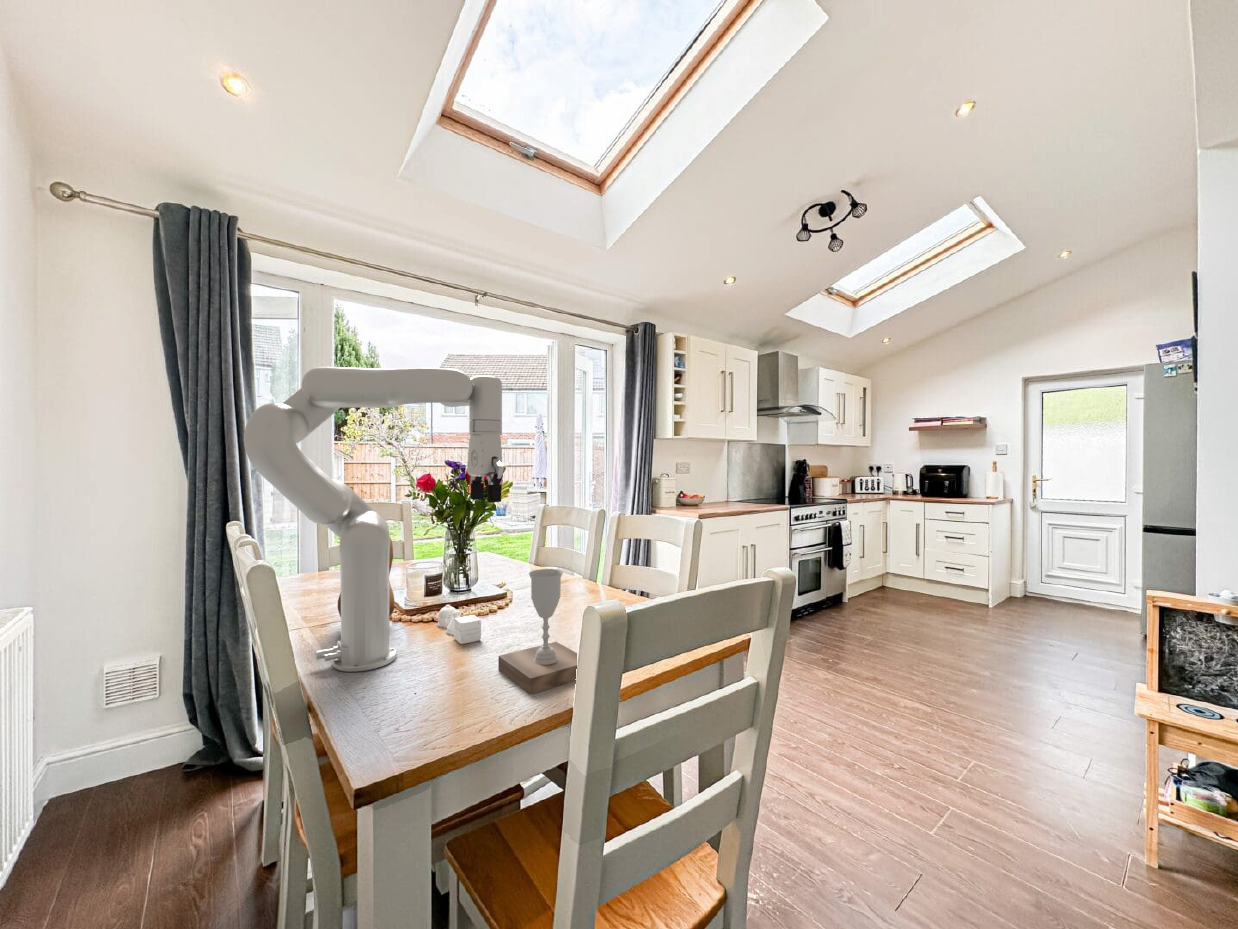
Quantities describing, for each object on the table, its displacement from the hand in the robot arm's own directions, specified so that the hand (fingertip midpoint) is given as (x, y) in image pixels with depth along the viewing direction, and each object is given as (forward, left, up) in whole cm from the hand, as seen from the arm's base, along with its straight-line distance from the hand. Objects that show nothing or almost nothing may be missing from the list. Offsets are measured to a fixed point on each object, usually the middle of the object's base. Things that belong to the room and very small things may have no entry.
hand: (485, 500), depth 124 cm
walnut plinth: (+3, -23, -34) cm, 41 cm away
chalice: (+3, -24, -32) cm, 40 cm away
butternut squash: (-20, +29, -34) cm, 49 cm away
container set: (-2, +13, -35) cm, 37 cm away
